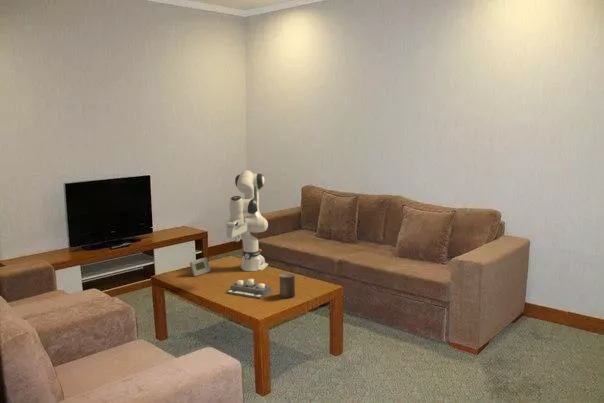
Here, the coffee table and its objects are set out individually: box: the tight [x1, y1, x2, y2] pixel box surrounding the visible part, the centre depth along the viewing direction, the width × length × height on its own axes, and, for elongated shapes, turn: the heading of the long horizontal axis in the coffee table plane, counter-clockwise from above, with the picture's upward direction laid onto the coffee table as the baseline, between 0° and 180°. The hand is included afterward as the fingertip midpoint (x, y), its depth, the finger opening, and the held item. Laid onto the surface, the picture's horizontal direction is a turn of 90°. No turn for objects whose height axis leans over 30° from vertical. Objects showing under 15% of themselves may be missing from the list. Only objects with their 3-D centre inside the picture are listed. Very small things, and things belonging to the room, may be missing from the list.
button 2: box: [246, 278, 255, 287], centre depth 315 cm, size 4×4×4 cm
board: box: [226, 281, 273, 300], centre depth 314 cm, size 15×25×4 cm, turn 65°
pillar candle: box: [278, 272, 296, 299], centre depth 307 cm, size 10×10×15 cm
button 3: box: [257, 282, 266, 289], centre depth 312 cm, size 4×4×4 cm
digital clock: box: [189, 257, 211, 277], centre depth 352 cm, size 16×9×11 cm, turn 132°
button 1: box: [236, 279, 244, 286], centre depth 318 cm, size 4×4×4 cm
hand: (237, 241), depth 323 cm, fingers closed
